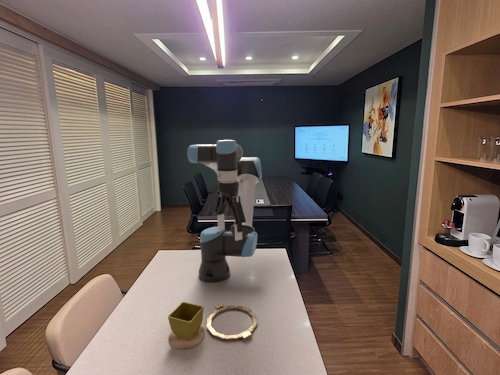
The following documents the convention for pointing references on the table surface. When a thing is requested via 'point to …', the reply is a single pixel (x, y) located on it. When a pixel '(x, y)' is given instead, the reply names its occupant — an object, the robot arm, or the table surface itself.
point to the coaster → (187, 344)
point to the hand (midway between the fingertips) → (229, 234)
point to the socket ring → (244, 335)
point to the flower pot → (186, 320)
